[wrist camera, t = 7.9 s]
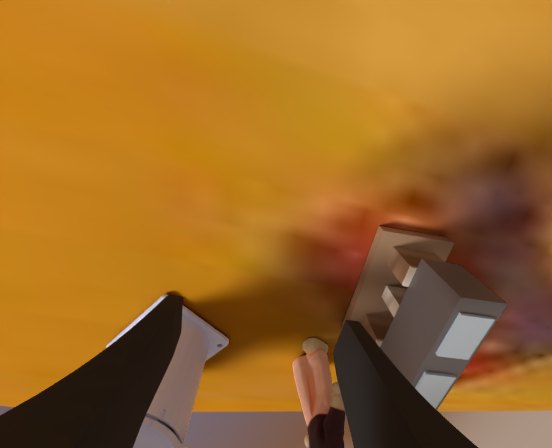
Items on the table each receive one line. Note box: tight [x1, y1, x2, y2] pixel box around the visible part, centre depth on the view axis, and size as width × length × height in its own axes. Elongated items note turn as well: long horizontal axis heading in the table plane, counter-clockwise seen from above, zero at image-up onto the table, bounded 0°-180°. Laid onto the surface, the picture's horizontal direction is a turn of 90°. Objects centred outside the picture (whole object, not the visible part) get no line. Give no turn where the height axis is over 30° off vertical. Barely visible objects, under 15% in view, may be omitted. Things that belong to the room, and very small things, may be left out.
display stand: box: [341, 226, 455, 347], centre depth 21 cm, size 11×6×4 cm, turn 170°
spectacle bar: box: [380, 259, 508, 410], centre depth 18 cm, size 10×3×4 cm, turn 170°
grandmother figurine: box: [293, 338, 345, 448], centre depth 21 cm, size 8×4×13 cm, turn 176°
